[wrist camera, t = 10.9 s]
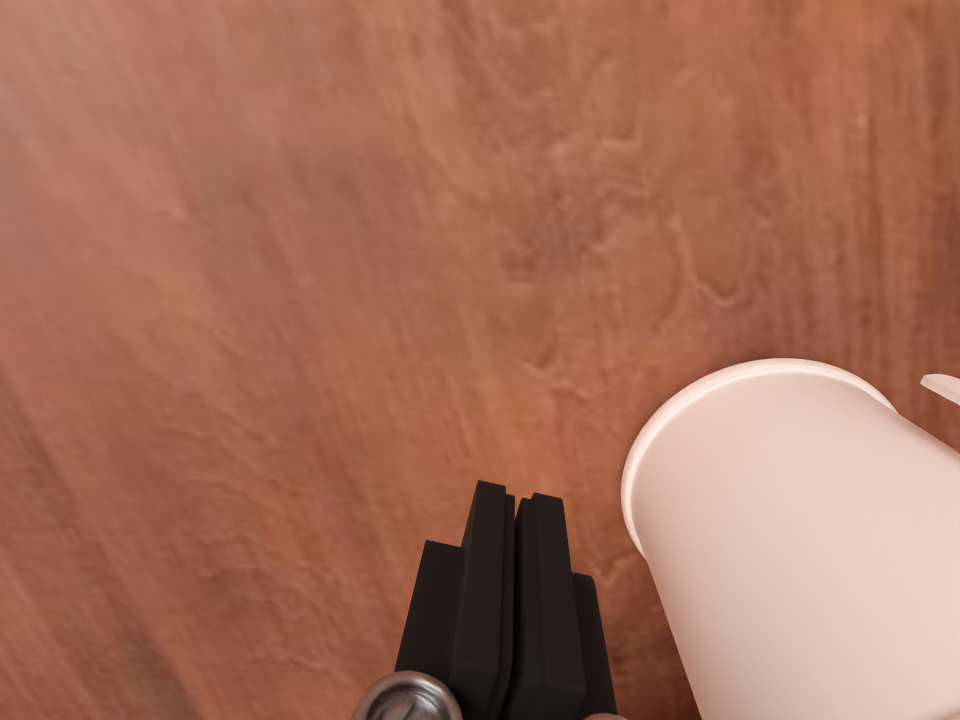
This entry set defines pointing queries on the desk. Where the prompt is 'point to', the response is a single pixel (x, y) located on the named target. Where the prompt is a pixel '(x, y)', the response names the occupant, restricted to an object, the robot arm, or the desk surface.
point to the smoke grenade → (802, 544)
